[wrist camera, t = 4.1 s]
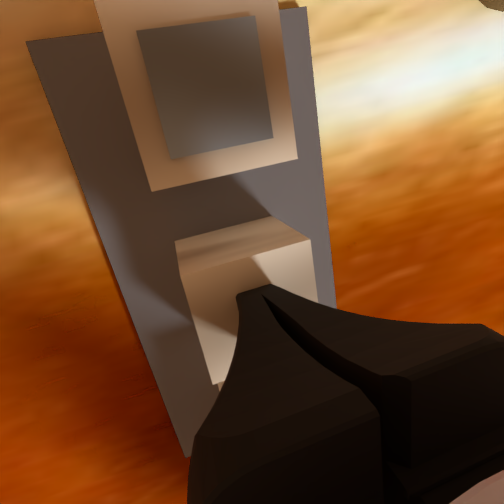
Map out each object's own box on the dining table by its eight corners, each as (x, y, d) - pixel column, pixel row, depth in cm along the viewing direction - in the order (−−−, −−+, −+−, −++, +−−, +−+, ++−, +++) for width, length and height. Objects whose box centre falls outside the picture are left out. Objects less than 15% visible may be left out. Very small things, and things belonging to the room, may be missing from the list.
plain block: (285, 299, 16) (323, 345, 12) (199, 327, 15) (212, 384, 11) (271, 215, 14) (310, 239, 11) (174, 241, 13) (180, 275, 10)
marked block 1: (259, 155, 13) (300, 158, 10) (153, 178, 12) (151, 192, 9) (239, 32, 12) (277, -24, 8) (115, 49, 11) (91, -5, 7)
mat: (341, 390, 20) (345, 394, 19) (184, 451, 18) (185, 457, 17) (302, 10, 12) (306, 6, 12) (30, 45, 10) (25, 41, 10)
